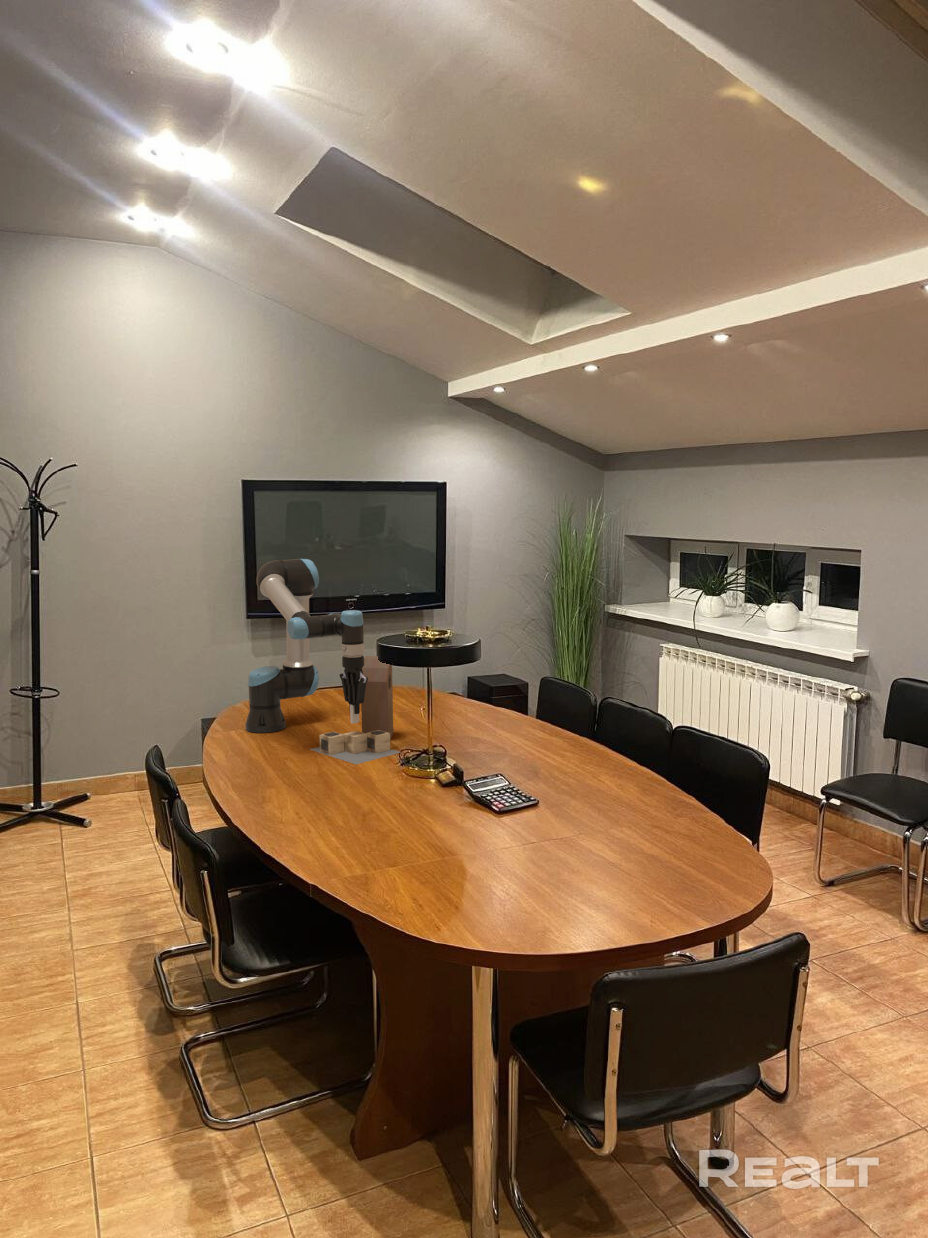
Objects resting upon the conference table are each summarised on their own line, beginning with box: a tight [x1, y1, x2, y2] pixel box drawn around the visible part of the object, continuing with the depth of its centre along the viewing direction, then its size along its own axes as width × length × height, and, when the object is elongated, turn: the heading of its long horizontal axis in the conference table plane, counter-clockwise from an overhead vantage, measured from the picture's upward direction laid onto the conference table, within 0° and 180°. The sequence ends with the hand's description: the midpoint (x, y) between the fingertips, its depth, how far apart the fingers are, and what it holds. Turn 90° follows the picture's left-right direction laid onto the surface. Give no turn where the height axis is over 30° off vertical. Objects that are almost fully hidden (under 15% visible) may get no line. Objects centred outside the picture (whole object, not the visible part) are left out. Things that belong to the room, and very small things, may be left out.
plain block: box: [342, 730, 367, 754], centre depth 323 cm, size 6×6×6 cm
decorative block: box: [360, 655, 394, 739], centre depth 339 cm, size 10×10×30 cm
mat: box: [309, 746, 402, 765], centre depth 324 cm, size 26×20×1 cm
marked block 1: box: [319, 731, 344, 755], centre depth 322 cm, size 6×6×6 cm
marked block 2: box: [366, 730, 391, 753], centre depth 324 cm, size 6×6×6 cm
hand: (354, 722), depth 322 cm, fingers closed
